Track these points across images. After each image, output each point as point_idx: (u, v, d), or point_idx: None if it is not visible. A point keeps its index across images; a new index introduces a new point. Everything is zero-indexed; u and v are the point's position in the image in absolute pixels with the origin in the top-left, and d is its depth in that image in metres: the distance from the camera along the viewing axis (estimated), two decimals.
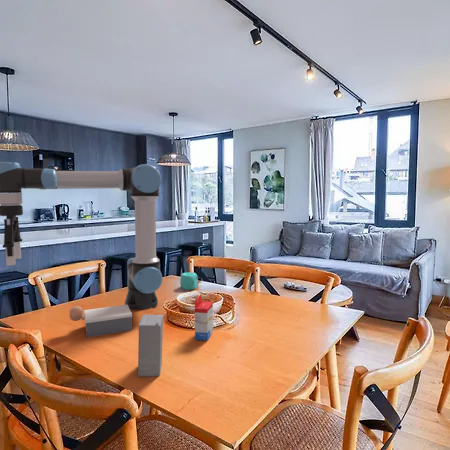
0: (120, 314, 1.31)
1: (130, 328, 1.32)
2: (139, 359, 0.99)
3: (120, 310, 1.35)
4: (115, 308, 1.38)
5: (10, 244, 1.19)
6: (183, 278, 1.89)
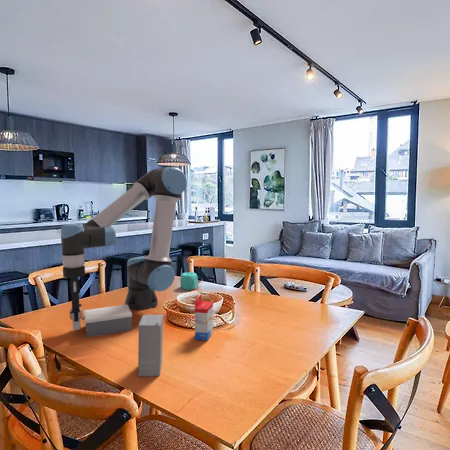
0: (120, 314, 1.31)
1: (130, 328, 1.32)
2: (139, 359, 0.99)
3: (120, 310, 1.35)
4: (115, 308, 1.38)
5: (78, 311, 1.24)
6: (183, 278, 1.89)
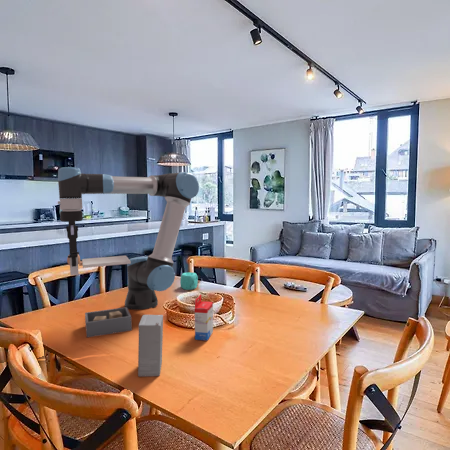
0: (118, 261, 1.29)
1: (130, 328, 1.32)
2: (139, 359, 0.99)
3: (119, 259, 1.33)
4: (113, 257, 1.36)
5: (75, 255, 1.22)
6: (183, 278, 1.89)
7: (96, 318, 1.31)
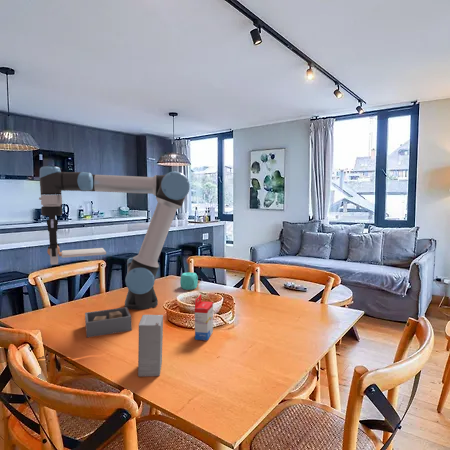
0: (95, 252, 1.42)
1: (130, 328, 1.32)
2: (139, 359, 0.99)
3: (96, 250, 1.46)
4: (91, 249, 1.49)
5: (55, 246, 1.35)
6: (183, 278, 1.89)
7: (96, 318, 1.31)
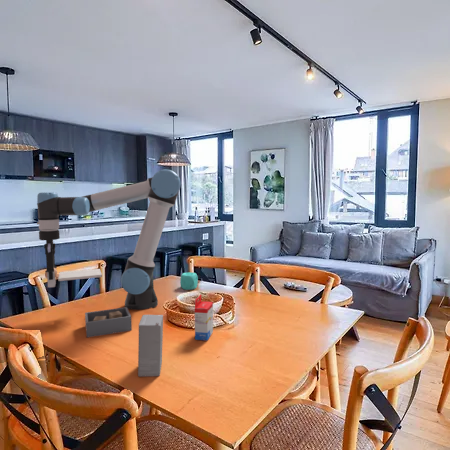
0: (91, 274, 1.46)
1: (130, 328, 1.32)
2: (139, 359, 0.99)
3: (92, 272, 1.50)
4: (88, 271, 1.53)
5: (52, 270, 1.39)
6: (183, 278, 1.89)
7: (96, 318, 1.31)
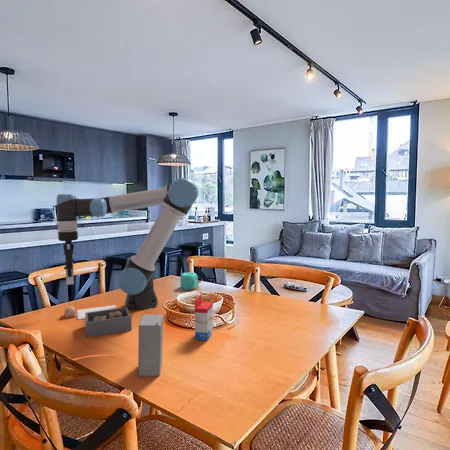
0: None
1: (130, 328, 1.32)
2: (139, 359, 0.99)
3: None
4: (105, 308, 1.57)
5: (71, 266, 1.37)
6: (183, 278, 1.89)
7: (96, 318, 1.31)
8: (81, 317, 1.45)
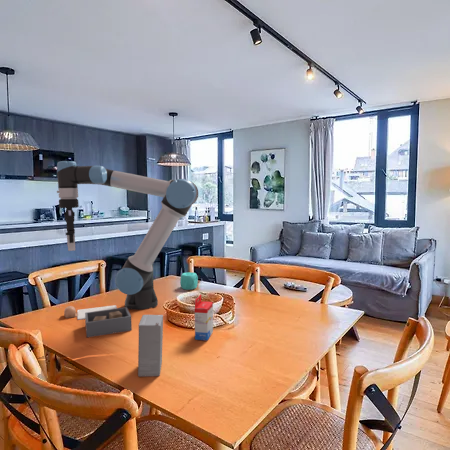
0: None
1: (130, 328, 1.32)
2: (139, 359, 0.99)
3: None
4: (105, 308, 1.57)
5: (73, 232, 1.38)
6: (183, 278, 1.89)
7: (96, 318, 1.31)
8: (81, 317, 1.45)
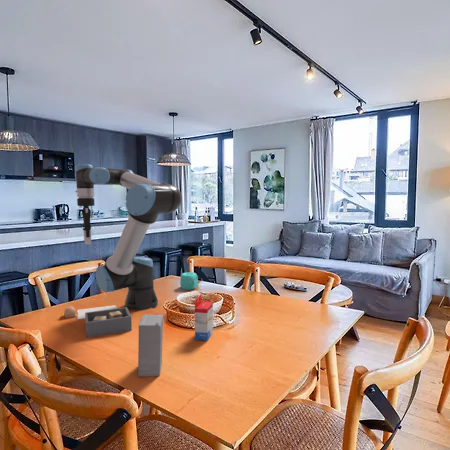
0: None
1: (130, 328, 1.32)
2: (139, 359, 0.99)
3: None
4: (105, 308, 1.57)
5: (89, 227, 1.55)
6: (183, 278, 1.89)
7: (96, 318, 1.31)
8: (81, 317, 1.45)
